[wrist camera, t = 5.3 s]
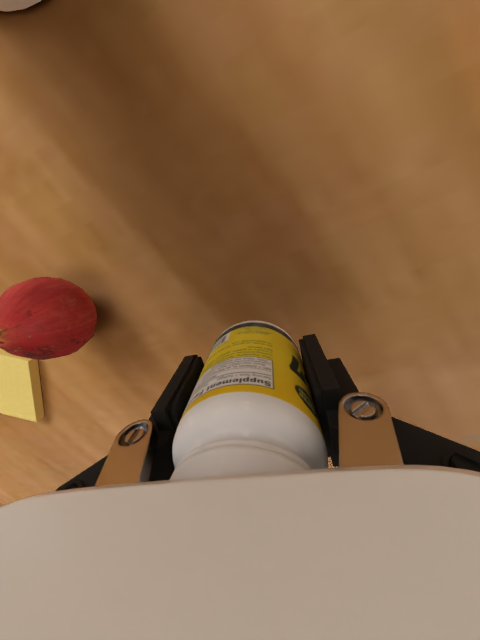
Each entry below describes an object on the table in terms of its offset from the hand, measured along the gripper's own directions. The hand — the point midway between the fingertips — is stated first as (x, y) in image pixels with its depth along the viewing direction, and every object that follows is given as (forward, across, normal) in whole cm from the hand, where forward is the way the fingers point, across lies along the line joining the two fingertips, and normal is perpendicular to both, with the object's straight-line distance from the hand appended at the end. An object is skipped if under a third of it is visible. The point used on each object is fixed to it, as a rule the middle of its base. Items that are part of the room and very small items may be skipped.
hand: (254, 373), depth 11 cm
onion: (+9, +14, -4) cm, 17 cm away
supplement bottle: (+2, 0, 0) cm, 2 cm away
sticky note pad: (+9, +27, +2) cm, 29 cm away
